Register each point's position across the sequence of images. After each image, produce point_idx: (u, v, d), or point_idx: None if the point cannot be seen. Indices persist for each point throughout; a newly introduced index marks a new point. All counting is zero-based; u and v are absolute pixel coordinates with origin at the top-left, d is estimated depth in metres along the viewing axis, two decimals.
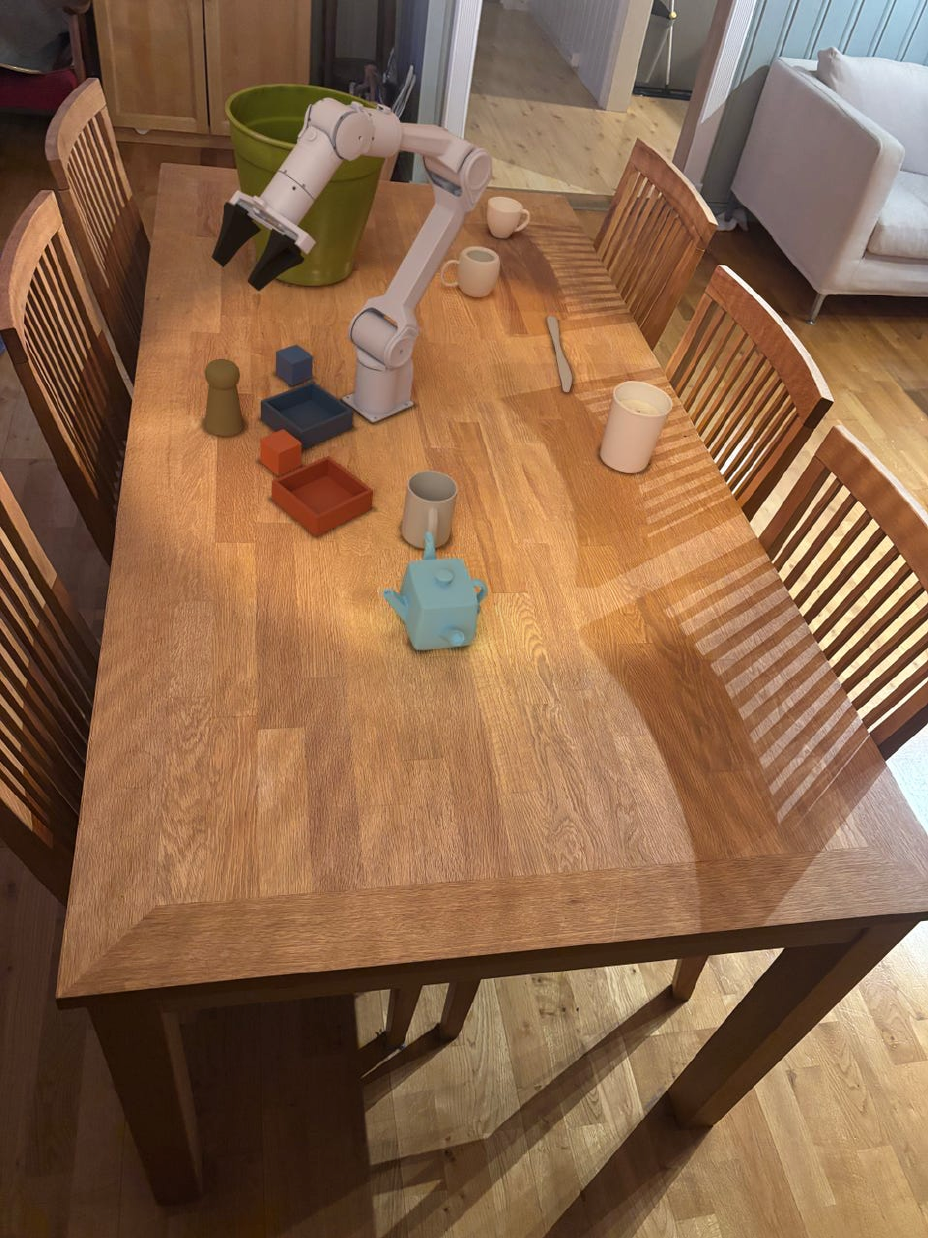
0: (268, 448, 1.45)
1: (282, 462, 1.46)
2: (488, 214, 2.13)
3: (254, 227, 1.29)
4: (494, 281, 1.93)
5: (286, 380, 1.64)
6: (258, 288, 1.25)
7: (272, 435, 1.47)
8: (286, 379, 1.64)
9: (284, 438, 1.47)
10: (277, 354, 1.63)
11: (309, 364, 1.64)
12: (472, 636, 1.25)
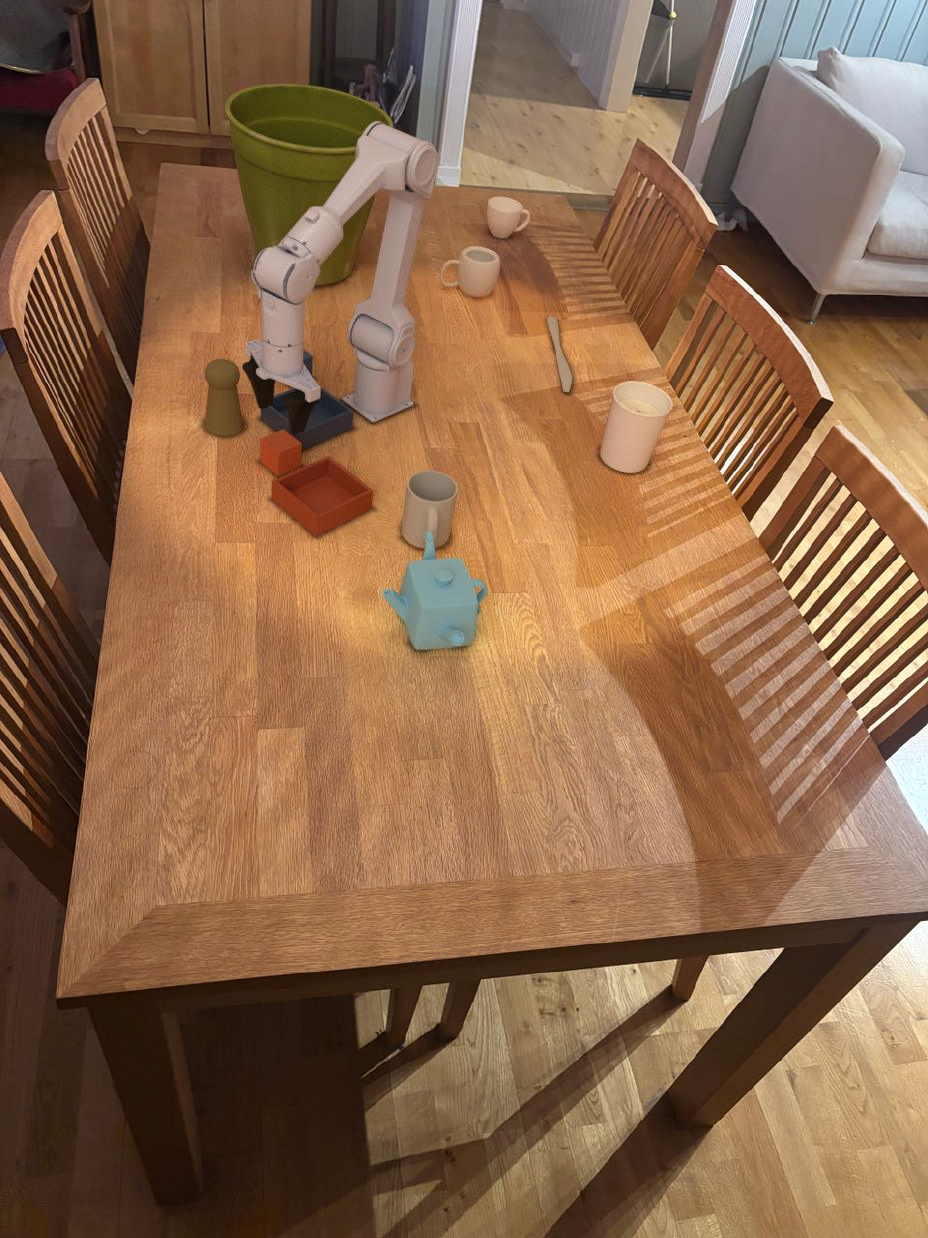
0: (268, 448, 1.45)
1: (282, 462, 1.46)
2: (488, 214, 2.13)
3: None
4: (494, 281, 1.93)
5: None
6: (302, 430, 1.42)
7: (272, 435, 1.47)
8: None
9: (284, 438, 1.47)
10: None
11: (309, 364, 1.64)
12: (472, 636, 1.25)
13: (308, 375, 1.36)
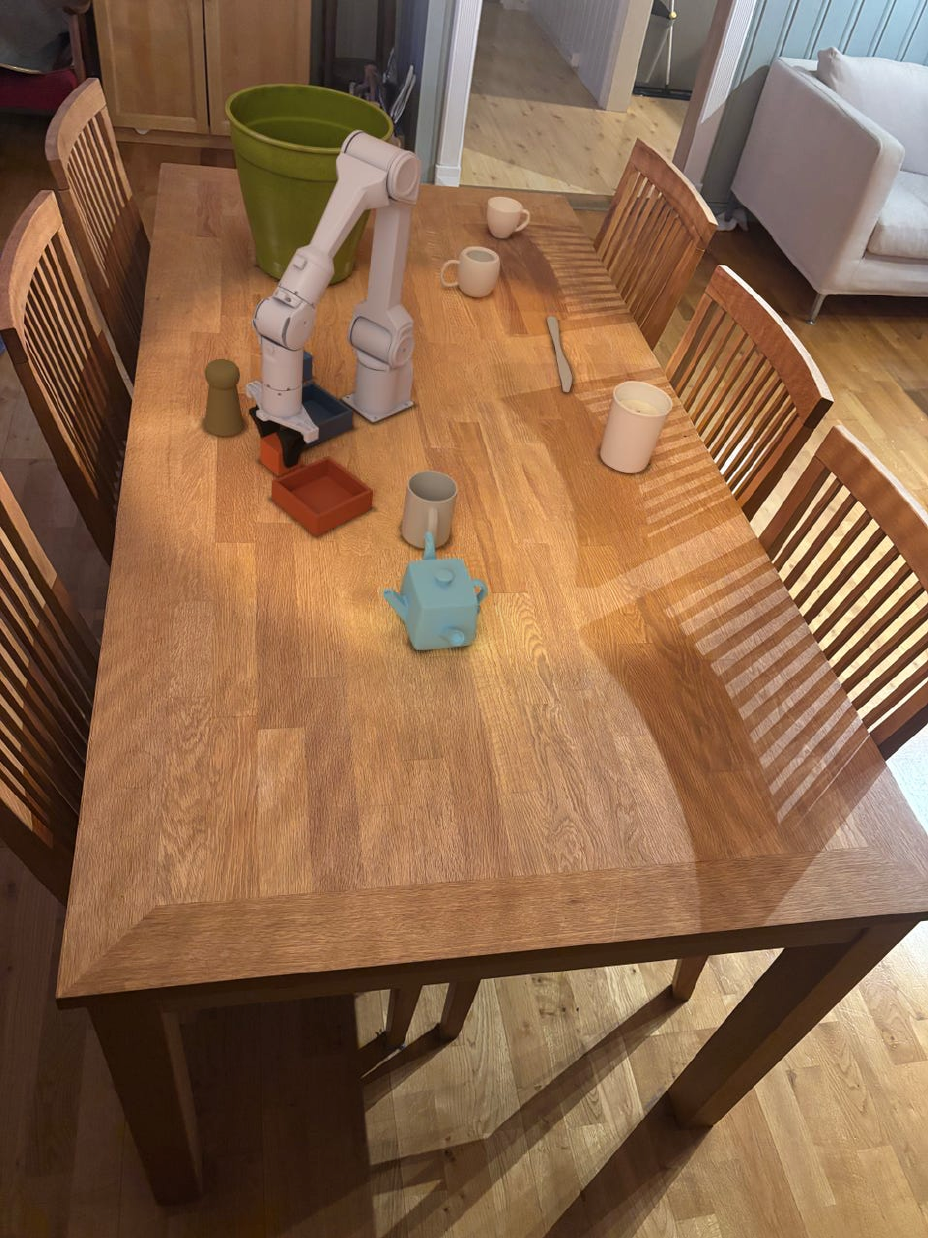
0: (269, 448, 1.45)
1: (282, 462, 1.46)
2: (488, 214, 2.13)
3: None
4: (494, 281, 1.93)
5: None
6: (295, 464, 1.47)
7: (272, 435, 1.47)
8: None
9: None
10: None
11: (309, 364, 1.64)
12: (472, 636, 1.25)
13: (306, 416, 1.41)
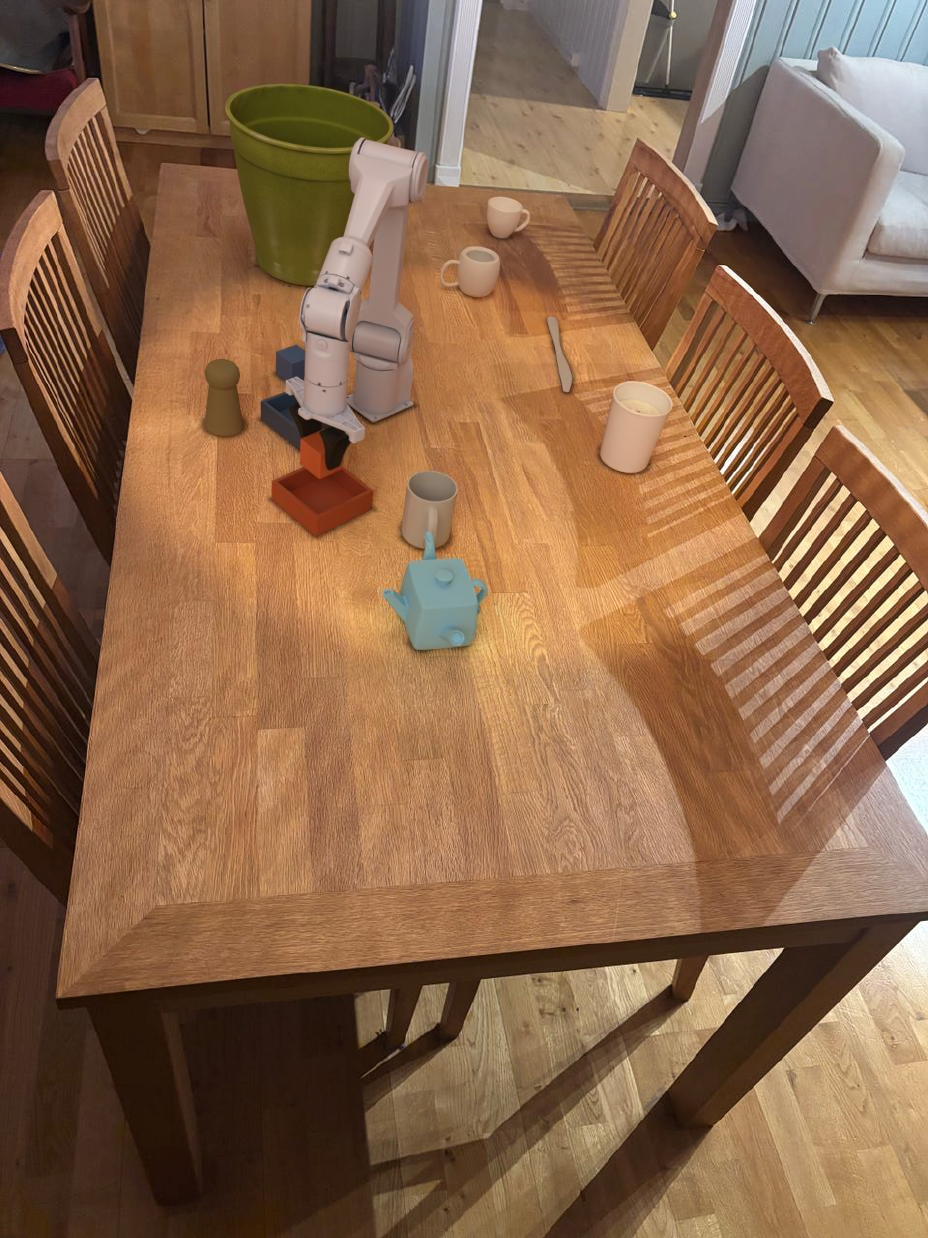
0: (309, 449, 1.35)
1: (324, 464, 1.36)
2: (488, 214, 2.13)
3: None
4: (494, 281, 1.93)
5: None
6: (337, 465, 1.37)
7: (313, 435, 1.37)
8: (286, 379, 1.64)
9: None
10: (277, 354, 1.63)
11: None
12: (472, 636, 1.25)
13: (352, 415, 1.31)
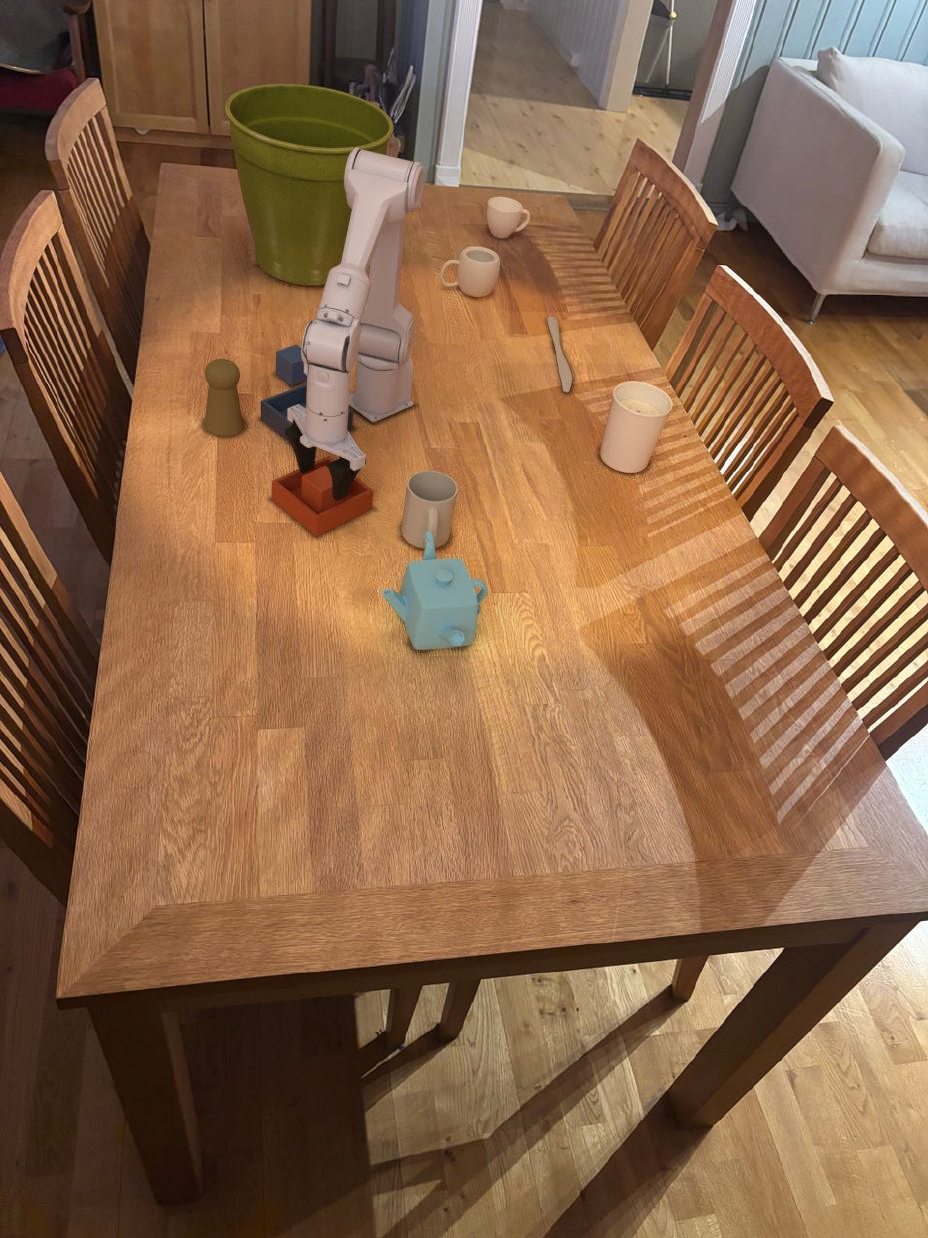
0: (310, 486, 1.40)
1: (324, 501, 1.40)
2: (488, 214, 2.13)
3: None
4: (494, 281, 1.93)
5: (286, 380, 1.64)
6: (344, 496, 1.40)
7: (314, 472, 1.41)
8: (286, 379, 1.64)
9: (327, 475, 1.41)
10: (277, 354, 1.63)
11: None
12: (472, 636, 1.25)
13: (352, 442, 1.34)
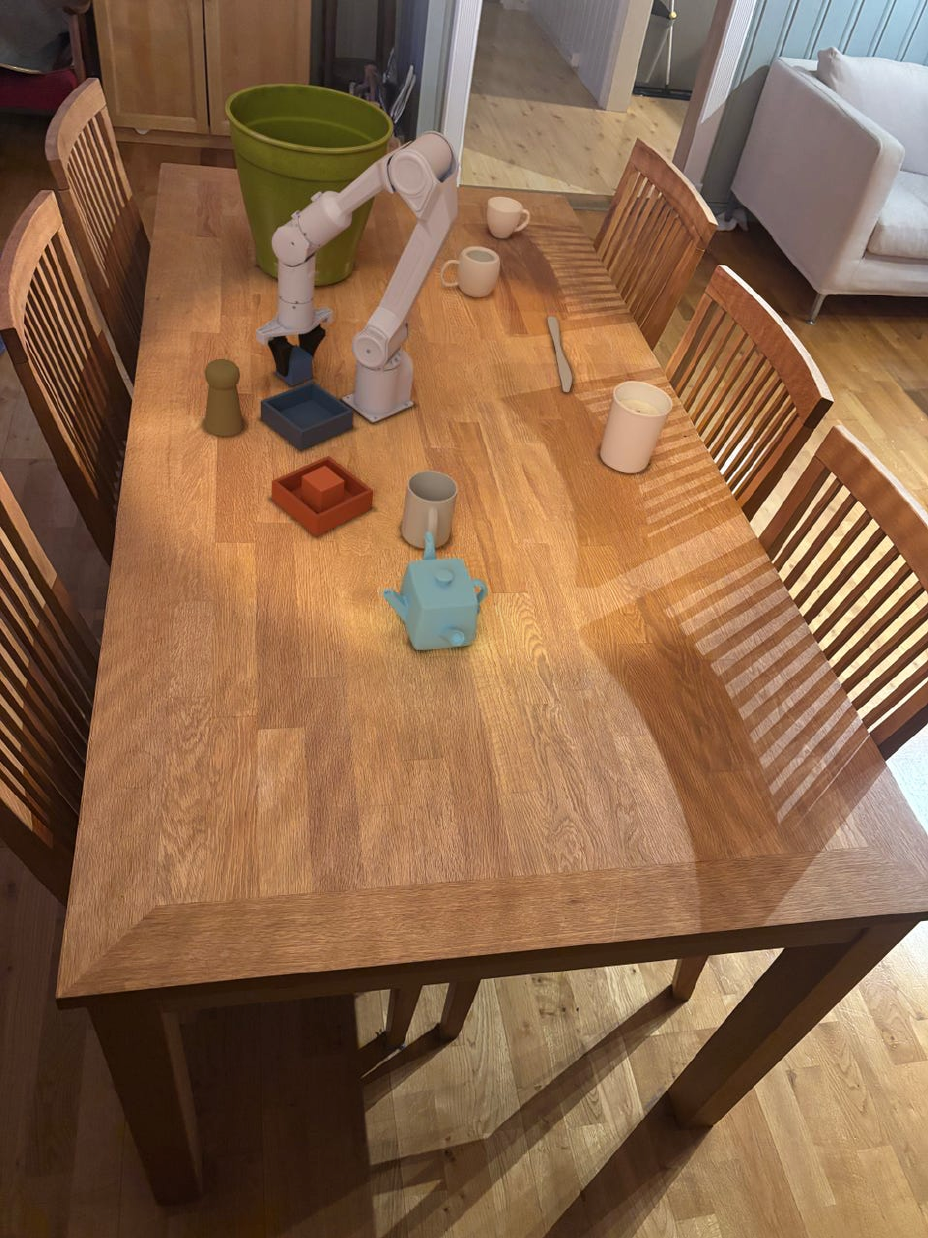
0: (310, 486, 1.40)
1: (324, 501, 1.40)
2: (488, 214, 2.13)
3: (312, 335, 1.61)
4: (494, 281, 1.93)
5: (286, 380, 1.64)
6: (282, 374, 1.63)
7: (314, 472, 1.41)
8: (286, 379, 1.64)
9: (327, 475, 1.41)
10: None
11: (309, 364, 1.64)
12: (472, 636, 1.25)
13: None
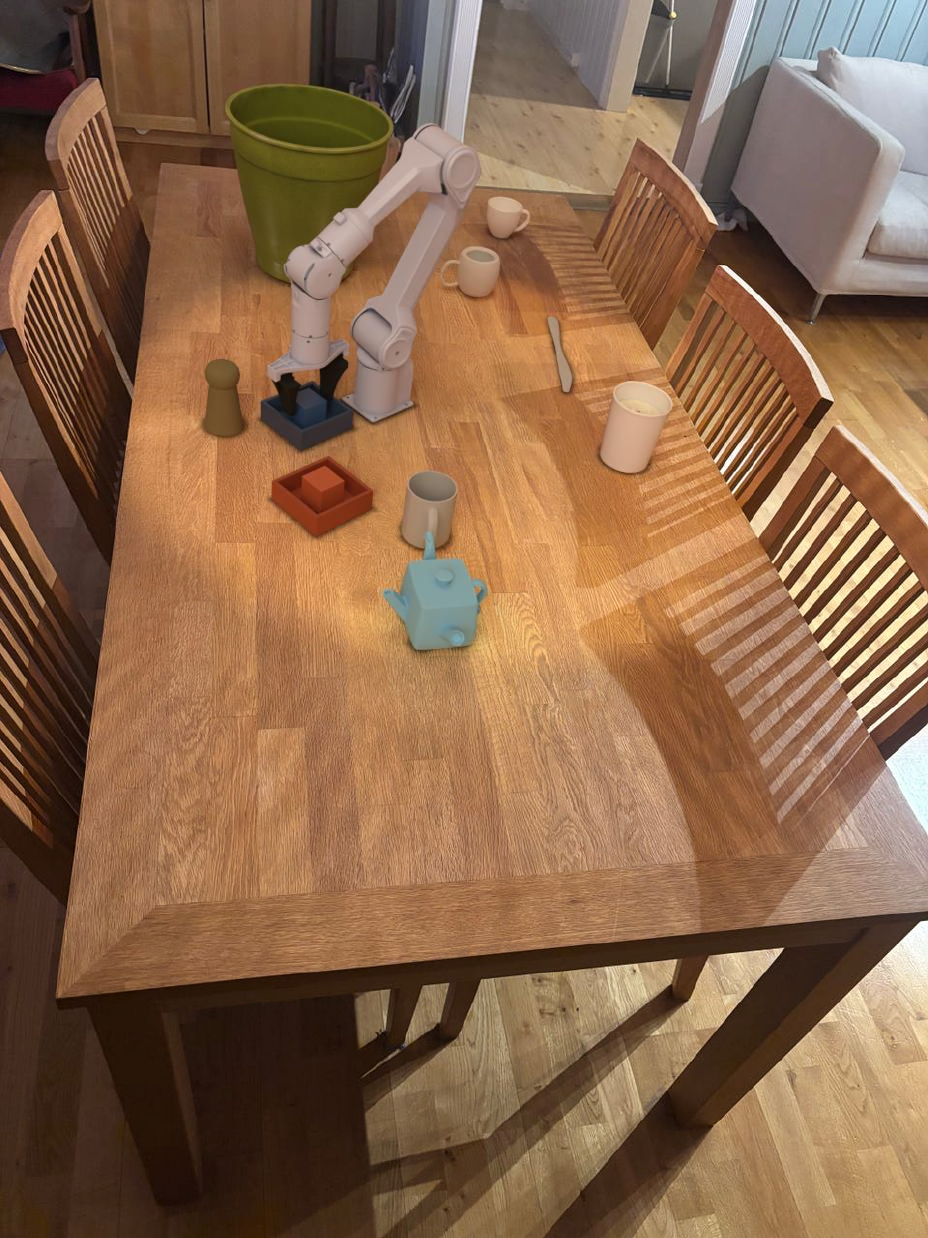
0: (310, 486, 1.40)
1: (324, 501, 1.40)
2: (488, 214, 2.13)
3: (334, 367, 1.51)
4: (494, 281, 1.93)
5: (298, 426, 1.55)
6: (288, 413, 1.52)
7: (314, 472, 1.41)
8: (298, 425, 1.55)
9: (327, 475, 1.41)
10: None
11: (323, 409, 1.55)
12: (472, 636, 1.25)
13: None
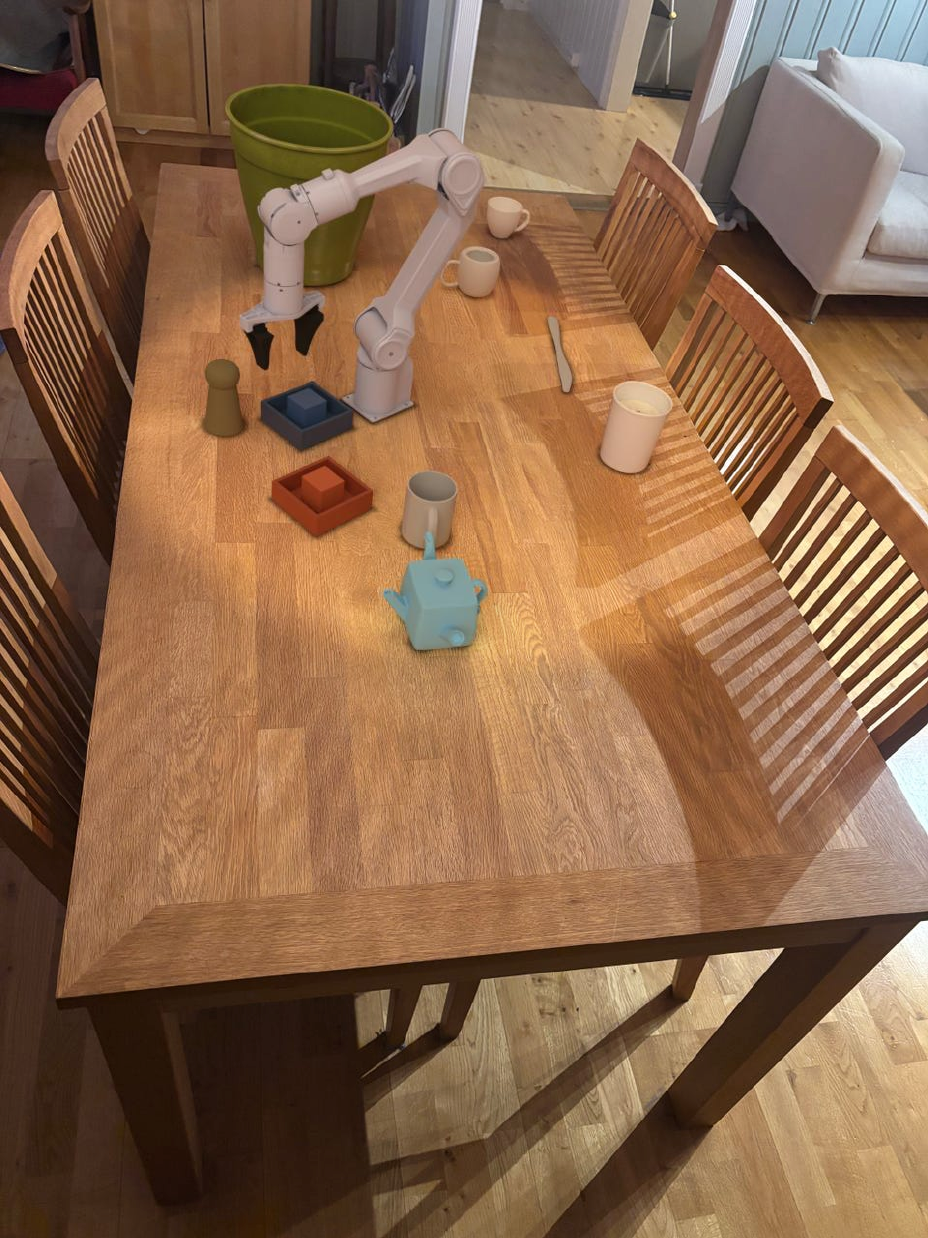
0: (310, 486, 1.40)
1: (324, 501, 1.40)
2: (488, 214, 2.13)
3: (309, 319, 1.47)
4: (494, 281, 1.93)
5: (298, 426, 1.55)
6: (262, 367, 1.48)
7: (314, 472, 1.41)
8: (298, 425, 1.55)
9: (327, 475, 1.41)
10: (289, 399, 1.53)
11: (323, 409, 1.55)
12: (472, 636, 1.25)
13: None
